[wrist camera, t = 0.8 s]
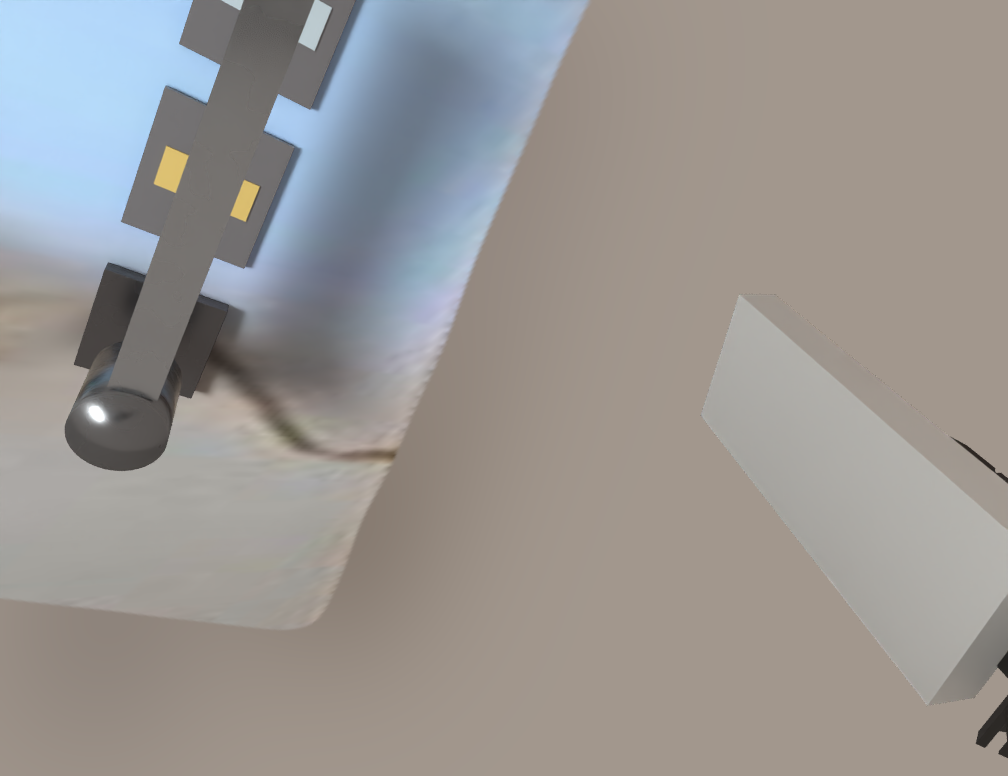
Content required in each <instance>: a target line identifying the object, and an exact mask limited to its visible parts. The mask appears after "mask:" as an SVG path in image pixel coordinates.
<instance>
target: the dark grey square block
mask: <svg viewBox="0 0 1008 776" xmlns="http://www.w3.org/2000/svg"><path fill="white" fill-rule="evenodd" d="M145 278H146V276H145V275H142V274H139V273H136V272H133V271H131V270H128V269H125V268H122V267H119V266H116V265H114V264H111V263H108V264H107V266H106V268H105V270H104V273H103V276H102V279H101V282H100V285H99V289H98V292H97V295H96V298H95V301H94V304H93V307H92V310H91V313H90V316H89V319H88V322H87V325H86V329H85V332H84V335H83V338H82V341H81V344H80V347H79V350H78V353H77V356H76V359H75V362H74V365H77V366H80V367H84V368H87V369H90V368H91V366H92V364H93V361H94V359H95V358H96V356H97V355H98V354H99V353H100V351H102V350H103V349H104V348H106V347H108V346H109V345H112V344H114V343H118V342H122V341H123V340H124V338H125V335H126V332H127V329H128V326H129V324H130V321H131V318H132V315H133V312H134V309H135V307H136V304H137V301H138V298H139V295H140V292H141V290H142V287H143V284H144V281H145ZM227 311H228V305H227V304H224V303H221V302H218V301H215V300H212V299H210V298H207V297H204V296H201V295H199V296H198V299H197V301H196V304H195V306H194V309H193V311H192V314H191V316H190V319H189V322H188V324H187V327H186V329H185V332H184V334H183V337H182V339H181V342H180V344H179V347H178V350H177V352H176V355H175V357H174V359H175V361H176V362H177V364H178V365H179V367H180V370H181V373H182V385H181V389H180V393H179V395H181V396H184V397H187V398H192V395H193V393H194V391H195V388H196V386H197V383H198V381H199V379H200V376H201V374H202V371H203V369H204V367H205V364H206V362H207V359H208V357H209V355H210V352H211V350H212V347H213V345H214V343H215V340H216V338H217V335H218V333H219V331H220V328H221V326H222V323H223V321H224V319H225V316H226V314H227Z"/></svg>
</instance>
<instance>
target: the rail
mask: <svg viewBox="0 0 1008 776" xmlns="http://www.w3.org/2000/svg"><path fill="white" fill-rule="evenodd" d="M314 1H315V0H244V1H243V4H242V7H241V9H240V12H239V15H238V18H237V21H236V24H235V26H234V29H233V32H232V35H231V38H230V41H229V43H228V46H227V49H226V52H225V55H224V58H223V60H222V63H221V66H220V69H219V72H218V75H217V77H216V80H215V83H214V86H213V89H212V92H211V94H210V97H209V100H208V103H207V106H206V108H205V111H204V114H203V117H202V120H201V123H200V125H199V128H198V131H197V134H196V137H195V140H194V142H193V145H192V148H191V151H190V154H189V157H188V159H187V162H186V165H185V168H184V171H183V174H182V176H181V179H180V182H179V185H178V188H177V191H176V193H175V196H174V199H173V202H172V205H171V208H170V210H169V213H168V216H167V219H166V222H165V224H164V227H163V230H162V233H161V236H160V239H159V241H158V244H157V247H156V250H155V253H154V256H153V258H152V261H151V264H150V267H149V270H148V273H147V275H146V278H145V281H144V284H143V287H142V290H141V292H140V295H139V298H138V301H137V304H136V307H135V309H134V312H133V315H132V318H131V321H130V324H129V326H128V329H127V332H126V335H125V338H124V340H123V341H122V342H118V343H114V344H112V345H109V346H108V347H106V348H104V349H103V350H102V351H100V353H99V354H98V355H97V356H96V358H95V359H94V361H93V364H92V366H91V368H90V370H89V372H88V375H87V377H86V379H85V381H84V383H83V386H82V388H81V390H80V392H79V394H78V397H77V399H76V401H75V403H74V405H73V408H72V410H71V412H70V414H69V416H68V419H67V421H66V424H65V437H66V440H67V442H68V444H69V446H70V448H71V449H72V450H73V451H74V452H75V453H76V454H77V455H78V456H79V457H80V458H81V459H83V460H84V461H86V462H88V463H90V464H92V465H94V466H97V467H100V468H103V469H108V470H115V471H128V470H135V469H139V468H142V467H145V466H147V465H149V464H151V463H153V462H154V461H155V460H157V459H158V458H159V457H160V456H161V455H162V453H163V452H164V450H165V448H166V445H167V442H168V438H169V434H170V430H171V426H172V422H173V418H174V414H175V410H176V406H177V402H178V397H179V393H180V389H181V385H182V373H181V370H180V367H179V365H178V364H177V362H176V361H175V359H174V357H175V355H176V352H177V350H178V347H179V344H180V342H181V339H182V337H183V334H184V332H185V329H186V327H187V324H188V322H189V319H190V316H191V314H192V311H193V309H194V306H195V304H196V301H197V299H198V296H199V294H200V291H201V288H202V286H203V283H204V281H205V278H206V276H207V273H208V271H209V268H210V265H211V263H212V260H213V258H214V255H215V253H216V250H217V248H218V245H219V243H220V240H221V237H222V235H223V232H224V230H225V227H226V225H227V222H228V220H229V217H230V215H231V212H232V209H233V207H234V204H235V202H236V199H237V197H238V194H239V192H240V189H241V187H242V184H243V181H244V179H245V176H246V174H247V171H248V169H249V166H250V164H251V161H252V159H253V156H254V153H255V151H256V148H257V146H258V143H259V141H260V138H261V136H262V133H263V131H264V128H265V125H266V123H267V120H268V118H269V115H270V113H271V110H272V108H273V105H274V102H275V100H276V97H277V95H278V92H279V90H280V87H281V85H282V82H283V80H284V77H285V74H286V72H287V69H288V67H289V64H290V62H291V59H292V57H293V54H294V52H295V49H296V46H297V44H298V41H299V39H300V36H301V34H302V31H303V29H304V26H305V24H306V21H307V18H308V16H309V13H310V11H311V8H312V6H313V3H314Z"/></svg>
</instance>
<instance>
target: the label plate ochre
mask: <svg viewBox="0 0 1008 776" xmlns="http://www.w3.org/2000/svg"><path fill="white" fill-rule="evenodd" d="M206 106H207V105H206V104H204V103H202V102H200V101H198V100H196V99H194V98H192V97H190V96H187V95H185V94H183V93H181V92H179V91H177V90H175V89H173V88H171V87H168V86H165V88H164V91H163V95H162V98H161V101H160V104H159V107H158V110H157V113H156V116H155V119H154V122H153V125H152V128H151V131H150V134H149V138H148V141H147V144H146V147H145V150H144V153H143V156H142V159H141V162H140V165H139V168H138V171H137V174H136V177H135V181H134V184H133V187H132V190H131V193H130V196H129V199H128V202H127V205H126V208H125V211H124V214H123V217H122V220H121V222H123V223H126V224H128V225H131V226H133V227H136V228H139V229H141V230H144V231H147V232H149V233H152V234H154V235H157V236H161V233H162V230H163V227H164V224H165V222H166V219H167V216H168V213H169V210H170V208H171V205H172V202H173V199H174V196H175V193H176V191H177V188H178V185H179V182H180V179H181V176H182V174H183V171H184V168H185V165H186V162H187V159H188V157H189V154H190V151H191V148H192V145H193V142H194V140H195V137H196V134H197V131H198V128H199V125H200V123H201V120H202V117H203V114H204V111H205V108H206ZM293 150H294V146H293V145H291V144H289V143H287V142H285V141H282V140H280V139H278V138H276V137H274V136H272V135H270V134H268V133H266V132H263V133H262V136H261V138H260V141H259V143H258V146H257V148H256V151H255V153H254V156H253V159H252V161H251V164H250V166H249V169H248V171H247V174H246V176H245V179H244V181H243V184H242V187H241V189H240V192H239V194H238V197H237V199H236V202H235V204H234V207H233V209H232V212H231V215H230V217H229V220H228V222H227V225H226V227H225V230H224V232H223V235H222V237H221V240H220V243H219V245H218V248H217V250H216V253H215V255H214V257H215V258H217V259H220V260H223V261H225V262H228V263H231V264H233V265H236V266H238V267H241V268H245V266H246V263H247V261H248V258H249V256H250V254H251V251H252V249H253V246H254V244H255V242H256V239H257V237H258V234H259V232H260V229H261V227H262V225H263V222H264V220H265V217H266V215H267V213H268V210H269V208H270V205H271V203H272V201H273V198H274V196H275V193H276V191H277V189H278V186H279V184H280V181H281V179H282V176H283V174H284V172H285V169H286V167H287V164H288V162H289V160H290V157H291V155H292V152H293Z"/></svg>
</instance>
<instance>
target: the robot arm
mask: <svg viewBox="0 0 1008 776" xmlns="http://www.w3.org/2000/svg"><path fill="white" fill-rule="evenodd" d="M701 416H702V418H703V419H704V421H705V422H706V423H707V424H708V425H709V427H710V428H711V429H712V431H713V432H714V433H715V434H716V436H717V437H718V438H719V440H720V441H721V442H722V444H723V445H724V446H725V447H726V448H727V450H728V451H729V452H730V454H731V455H732V456H733V458H734V459H735V460H736V461H737V463H738V464H739V465H740V467H741V468H742V469H743V470H744V472H745V473H746V474H747V476H748V477H749V478H750V479H751V481H752V482H753V483H754V484H755V486H756V487H757V488H758V490H759V491H760V492H761V493H762V495H763V496H764V497H765V498H766V500H767V501H768V502H769V504H771V506H772V507H773V509H774V510H775V511H776V513H777V514H778V515H779V516H780V518H781V519H782V520H783V522H784V523H785V524H786V525H787V527H788V528H789V529H790V530H791V532H792V533H793V534H794V535H795V537H796V538H797V539H798V541H799V542H800V543H801V544H802V546H803V547H804V548H805V550H806V551H807V552H808V554H809V555H810V556H811V557H812V559H813V560H814V561H815V562H816V564H817V565H818V566H819V568H820V569H821V570H822V571H823V572H824V574H825V575H826V577H827V578H828V579H829V580H830V582H831V583H832V584H833V585H834V587H835V588H836V589H837V591H838V592H839V593H840V594H841V596H842V597H843V598H844V599H845V601H846V602H847V603H848V605H849V606H850V607H851V609H852V610H853V611H854V612H855V614H856V615H857V616H858V618H859V619H860V620H861V621H862V623H863V624H864V625H865V626H866V628H867V629H868V630H869V632H870V633H871V634H872V635H873V637H874V638H875V639H876V641H877V642H878V643H879V644H880V646H881V647H882V648H883V649H884V651H885V652H886V653H887V655H888V656H889V657H890V658H891V660H892V661H893V662H894V664H895V665H896V666H897V667H898V669H899V670H900V671H901V672H902V673H903V675H904V676H905V678H906V679H907V680H908V681H909V683H910V684H911V685H912V687H913V688H914V689H915V690H916V692H917V693H918V694H919V695H920V697H921V698H922V699H923V700H924V702H925V703H926V705H927V706H928V705H934V704H941V703H947V702H953V701H959V700H965V699H970V698H975V696H976V695H977V694H978V693H979V691H980V690H981V689H982V687H983V686H984V685H985V683H986V682H987V681H988V679H989V678H990V677H991V676H992V674H993V673H994V672H995V670H996V669H997V668H999V669H1000V670H1001V671H1002V672H1003V673H1004V674H1005V676H1006V677H1007V678H1008V478H1007V477H1005V476H1004V475H1003V474H1002V473H996V472H995V468H994V467H993V466H992V465H991V464H989V463H988V462H987V461H986V460H984V459H983V458H982V457H980V456H979V455H978V454H977V453H976V452H974V451H973V450H972V449H971V448H969V447H968V446H967V445H965V444H963V443H961V442H959V441H958V440H956V439H954V438H952V437H950V436H949V435H947V434H946V433H945V432H943V431H942V430H941V429H940V428H939V427H937V426H936V425H935V424H934V423H933V422H931V421H930V420H929V419H928V418H927V417H925V416H924V415H923V414H921V413H920V412H919V411H918V410H917V409H915V408H914V407H913V406H912V405H910V404H909V403H908V402H907V401H906V400H904V399H903V398H902V397H901V396H899V395H898V394H897V393H896V392H895V391H893V390H892V389H891V388H890V387H888V386H887V385H886V384H885V383H883V382H882V381H881V380H880V379H879V378H877V377H876V376H875V375H874V374H872V373H871V372H870V371H869V370H867V369H866V368H865V367H864V366H862V365H861V364H860V363H859V362H858V361H856V360H855V359H854V358H853V357H851V356H850V355H849V354H848V353H847V352H845V351H844V350H843V349H842V348H840V347H839V346H838V345H837V344H835V343H834V342H833V341H832V340H831V339H829V338H828V337H827V336H826V335H824V334H823V333H822V332H821V331H820V330H818V329H817V328H816V327H815V326H813V325H812V324H811V323H810V322H808V321H807V320H806V319H805V318H804V317H802V316H801V315H800V314H799V313H797V312H796V311H795V310H794V309H792V308H791V307H790V306H789V305H788V304H786V303H785V302H784V301H782V300H781V299H780V298H779V297H778V296H776V295H775V294H774V295H773V294H768V295H767V294H739V297H738V300H737V303H736V306H735V309H734V313H733V316H732V319H731V322H730V325H729V328H728V331H727V335H726V338H725V341H724V344H723V347H722V350H721V353H720V356H719V359H718V363H717V366H716V369H715V372H714V375H713V378H712V381H711V385H710V388H709V391H708V394H707V397H706V400H705V403H704V407H703V409H702V413H701ZM999 731H1002V732H1006V734H1007V742H1006V743H1005V745H1004V746H1003V747H1002V748H1001V749H1000V751H999V754H1000V755H1002V756H1004V757H1007V758H1008V695H1007V697H1006V698H1005V699H1004V700H1003V702H1002V703H1001V704H1000V705H999V707H998V708H997V709H996V710H995V712H994V713H993V714H992V715H991V717H990V718H989V719H988V720H987V722H986V723H985V724H984V725H983V726H982V728H981V729H980V730H979V732H978V737H977V741H976V744H978V745H980V746H982V747H984V748H985V747H986V746H987V745H988V744H989V742H990V741H991V740H992V739H993V737H994V736H995V735H996V734H997V733H998V732H999Z"/></svg>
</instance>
